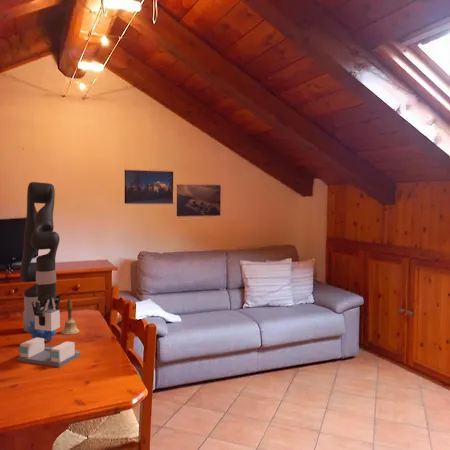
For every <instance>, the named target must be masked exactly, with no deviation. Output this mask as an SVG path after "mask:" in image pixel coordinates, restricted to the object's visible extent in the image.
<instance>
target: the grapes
mask: <svg viewBox="0 0 450 450" xmlns="http://www.w3.org/2000/svg"><path fill="white" fill-rule="evenodd" d="M29 323H30V325H31V326H29V327H28V331H29V332H31V334H30V337H31V338H32V339H34V338H36V337H37V338H44V342H45V341H47V342H50V341H52V340H53V337H55V336H56V333H57V332H56V329H55V330H53V331H47V330H39V329H35V320H33V319H32V320H30V322H29ZM29 332H28V333H29Z"/></svg>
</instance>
